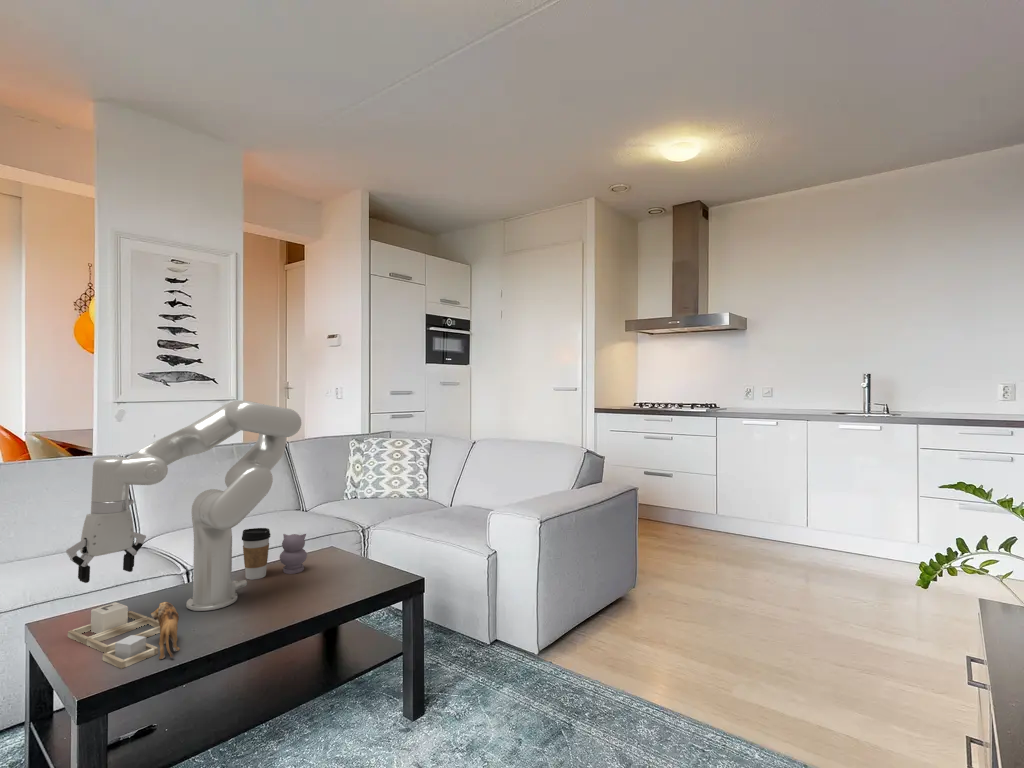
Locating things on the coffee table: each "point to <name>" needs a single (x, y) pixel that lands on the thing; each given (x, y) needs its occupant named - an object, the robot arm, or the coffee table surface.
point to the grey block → (130, 646)
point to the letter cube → (108, 617)
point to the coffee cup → (255, 552)
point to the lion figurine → (167, 627)
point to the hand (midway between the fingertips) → (106, 576)
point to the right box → (78, 636)
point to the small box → (121, 663)
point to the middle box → (96, 641)
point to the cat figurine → (293, 553)
